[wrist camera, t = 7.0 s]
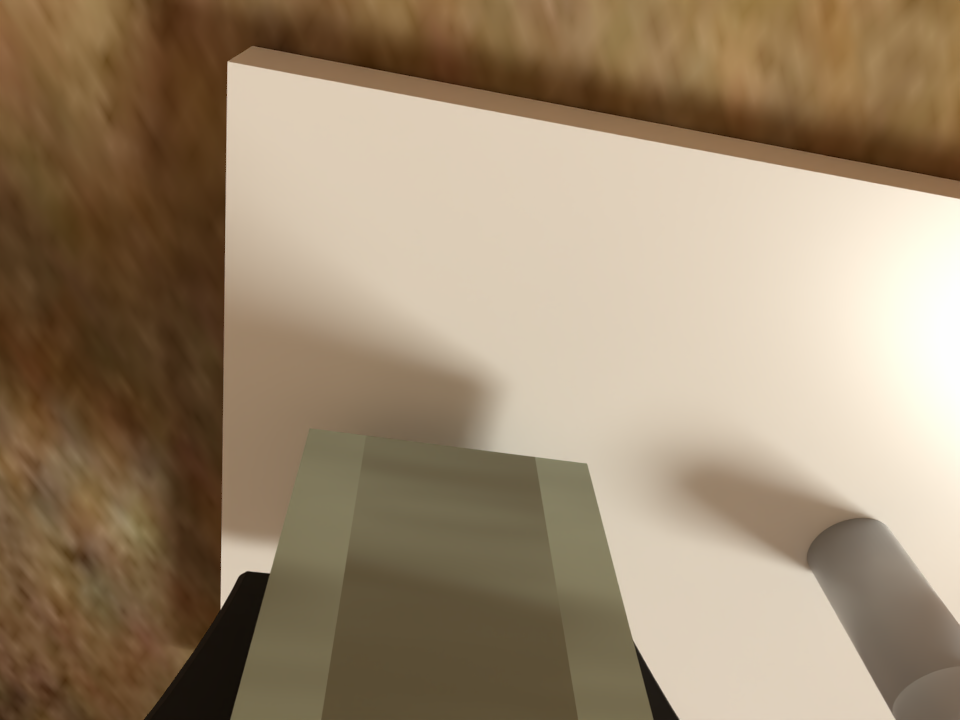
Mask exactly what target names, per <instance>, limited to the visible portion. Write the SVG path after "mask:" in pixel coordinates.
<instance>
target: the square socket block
mask: <svg viewBox="0 0 960 720" xmlns="http://www.w3.org/2000/svg"><path fill="white" fill-rule="evenodd" d="M230 720H653V716H652V712H651V708H650V704H649V700H648V697H647V693H646V689H645V685H644V681H643V677H642V673H641V669H640V666H639V662H638V658H637V654H636V650H635V646H634V642H633V639H632V635H631V631H630V627H629V623H628V619H627V615H626V612H625V608H624V604H623V600H622V596H621V592H620V588H619V585H618V581H617V577H616V573H615V569H614V565H613V561H612V558H611V554H610V550H609V546H608V542H607V538H606V534H605V531H604V527H603V523H602V519H601V515H600V511H599V507H598V504H597V500H596V496H595V492H594V488H593V484H592V480H591V476H590V473H589V469H588V465H587V463H579V462H571V461H563V460H555V459H547V458H539V457H532V456H524V455H516V454H508V453H500V452H492V451H484V450H477V449H469V448H461V447H453V446H445V445H437V444H429V443H422V442H414V441H406V440H398V439H390V438H382V437H374V436H367V435H359V434H351V433H343V432H335V431H327V430H319V429H312V428H310V429H309V432H308V436H307V440H306V443H305V447H304V451H303V454H302V458H301V462H300V465H299V469H298V473H297V476H296V480H295V484H294V487H293V491H292V495H291V498H290V502H289V506H288V509H287V513H286V517H285V520H284V524H283V528H282V531H281V535H280V539H279V542H278V546H277V550H276V553H275V557H274V561H273V565H272V568H271V572H270V576H269V579H268V583H267V587H266V590H265V594H264V598H263V601H262V605H261V609H260V612H259V616H258V620H257V623H256V627H255V631H254V634H253V638H252V642H251V645H250V649H249V653H248V656H247V660H246V664H245V667H244V671H243V675H242V678H241V682H240V686H239V689H238V693H237V697H236V701H235V704H234V708H233V712H232V715H231V719H230Z"/></svg>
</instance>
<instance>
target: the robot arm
mask: <svg viewBox="0 0 960 720" xmlns="http://www.w3.org/2000/svg"><path fill="white" fill-rule="evenodd" d="M269 576H270V573H261V572H251V571H246V572H245V573H243V574H241V575H239V577H238V579H237V581H236V583H235V585H234V587H233V589H232V591H231V592H230V594H229V596H228V598H227V599H226V601H225V603H224V605H223V606H222V608H221V610H220V612H219V613H218V615H217V616H216V618H215V620H214V621H213V623H212V625H211V626H210V628H209V629H208V631H207V632H206V634H205V635H204V637H203V638H202V640H201V641H200V643H199V644H198V646H197V648H196V649H195V651H194V652H193V653H192V655H191V656H190V658H189V659H188V660H187V662H186V663H185V665H184V666H183V667H182V669H181V670H180V672H179V673H178V675H177V676H176V677H175V679H174V680H173V682H172V683H171V684H170V686H169V687H168V689H167V690H166V691H165V693H164V694H163V696H162V697H161V698H160V700H159V701H158V702H157V704H156V705H155V706H154V707H153V709H152V710H151V711H150V713H149V714H148V715H147V716H146V718H145V719H144V720H230V719H231V715H232V712H233V708H234V704H235V701H236V697H237V693H238V689H239V686H240V682H241V678H242V675H243V671H244V667H245V664H246V660H247V656H248V653H249V649H250V645H251V642H252V638H253V634H254V631H255V627H256V623H257V620H258V616H259V612H260V609H261V605H262V601H263V598H264V594H265V590H266V587H267V583H268V579H269ZM633 642H634V641H633ZM634 646H635V650H636V654H637V658H638V662H639V666H640V669H641V673H642V677H643V681H644V685H645V689H646V693H647V697H648V700H649V704H650V708H651V712H652V716H653V720H679V718H678V716H677V715H676V713H675V712H674V710H673V708H672V707H671V705H670V703H669V702H668V700H667V698H666V697H665V695H664V693H663V692H662V690H661V688H660V687H659V685H658V683H657V681H656V680H655V678H654V676H653V674H652V673H651V671H650V669H649V668H648V666H647V664H646V662H645V661H644V659H643V657H642V655H641V653H640V652H639V650H638V648H637V646H636V645H635V643H634Z"/></svg>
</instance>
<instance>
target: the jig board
mask: <svg viewBox="0 0 960 720" xmlns="http://www.w3.org/2000/svg"><path fill="white" fill-rule="evenodd" d="M310 428H312V429H319V430H327V431H335V432H343V433H351V434H359V435H367V436H374V437H382V438H390V439H398V440H406V441H414V442H422V443H429V444H437V445H445V446H453V447H461V448H469V449H477V450H484V451H492V452H500V453H508V454H516V455H524V456H532V457H539V458H547V459H555V460H563V461H571V462H579V463H587V465H588V469H589V473H590V476H591V480H592V484H593V488H594V492H595V496H596V500H597V504H598V507H599V511H600V515H601V519H602V523H603V527H604V531H605V534H606V538H607V542H608V546H609V550H610V554H611V558H612V561H613V565H614V569H615V573H616V577H617V581H618V585H619V588H620V592H621V596H622V600H623V604H624V608H625V612H626V615H627V619H628V623H629V627H630V631H631V635H632V639H633V641H634V643H635V645H636V646H637V648H638V650H639V652H640V653H641V655H642V657H643V659H644V661H645V662H646V664H647V666H648V668H649V669H650V671H651V673H652V674H653V676H654V678H655V680H656V681H657V683H658V685H659V687H660V688H661V690H662V692H663V693H664V695H665V697H666V698H667V700H668V702H669V703H670V705H671V707H672V708H673V710H674V712H675V713H676V715H677V716H678V718H679V720H960V181H956V180H951V179H946V178H940V177H935V176H930V175H925V174H920V173H914V172H909V171H904V170H899V169H893V168H888V167H883V166H878V165H872V164H867V163H862V162H857V161H852V160H846V159H841V158H836V157H831V156H825V155H820V154H815V153H810V152H805V151H799V150H794V149H789V148H784V147H778V146H773V145H768V144H763V143H758V142H752V141H747V140H742V139H737V138H731V137H726V136H721V135H716V134H710V133H705V132H700V131H695V130H690V129H684V128H679V127H674V126H669V125H663V124H658V123H653V122H648V121H643V120H637V119H632V118H627V117H622V116H616V115H611V114H606V113H601V112H595V111H590V110H585V109H580V108H575V107H569V106H564V105H559V104H554V103H548V102H543V101H538V100H533V99H528V98H522V97H517V96H512V95H507V94H501V93H496V92H491V91H486V90H481V89H475V88H470V87H465V86H460V85H454V84H449V83H444V82H439V81H433V80H428V79H423V78H418V77H413V76H407V75H402V74H397V73H392V72H386V71H381V70H376V69H371V68H366V67H360V66H355V65H350V64H345V63H339V62H334V61H329V60H324V59H319V58H313V57H308V56H303V55H298V54H292V53H287V52H282V51H277V50H271V49H266V48H261V47H256V46H251V47H250V48H248V49H246V50H245V51H243V52H242V53H240V54H239V55H237V56H235V57H234V58H232V59H231V60H229V61H228V63H227V142H226V220H225V299H224V378H223V457H222V536H221V608H222V606H223V605H224V603H225V601H226V599H227V598H228V596H229V594H230V592H231V591H232V589H233V587H234V585H235V583H236V581H237V579H238V577H239V575H241V574H243V573H245V572H246V571H251V572H261V573H270V572H271V568H272V565H273V561H274V557H275V553H276V550H277V546H278V542H279V539H280V535H281V531H282V528H283V524H284V520H285V517H286V513H287V509H288V506H289V502H290V498H291V495H292V491H293V487H294V484H295V480H296V476H297V473H298V469H299V465H300V462H301V458H302V454H303V451H304V447H305V443H306V440H307V436H308V432H309V429H310Z"/></svg>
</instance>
